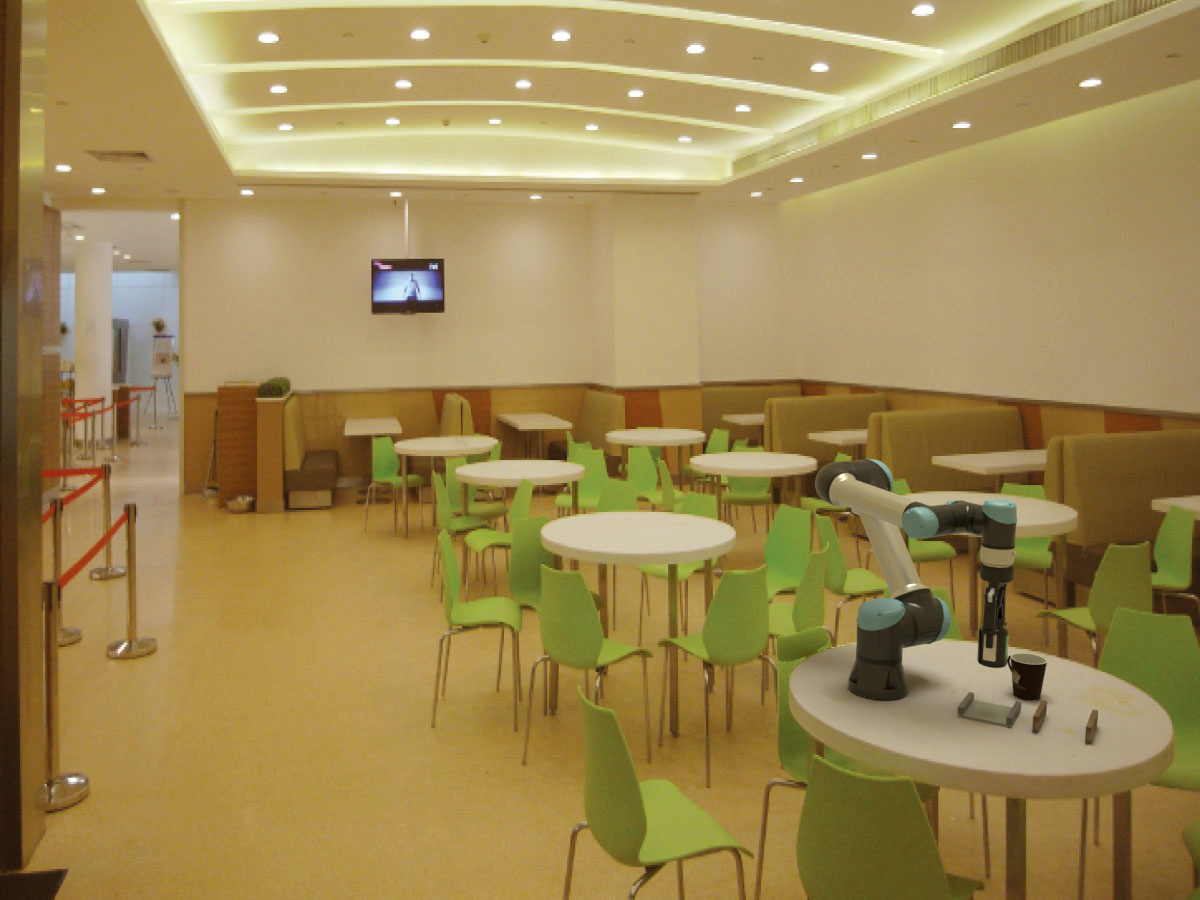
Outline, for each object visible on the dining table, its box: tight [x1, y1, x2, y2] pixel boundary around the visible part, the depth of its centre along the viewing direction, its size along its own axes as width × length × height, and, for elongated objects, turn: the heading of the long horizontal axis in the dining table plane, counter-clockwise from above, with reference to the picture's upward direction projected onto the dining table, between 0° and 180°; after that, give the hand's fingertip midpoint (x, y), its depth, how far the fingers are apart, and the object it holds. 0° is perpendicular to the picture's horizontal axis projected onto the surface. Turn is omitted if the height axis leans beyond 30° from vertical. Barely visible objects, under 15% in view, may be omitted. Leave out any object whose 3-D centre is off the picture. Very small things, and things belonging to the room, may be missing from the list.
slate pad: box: [957, 691, 1022, 729], centre depth 241 cm, size 12×12×2 cm
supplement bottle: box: [976, 614, 1010, 669], centre depth 239 cm, size 7×7×12 cm
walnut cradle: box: [1031, 699, 1099, 745], centre depth 232 cm, size 12×12×4 cm
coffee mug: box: [1007, 652, 1048, 702], centre depth 254 cm, size 12×9×10 cm
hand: (992, 655), depth 239 cm, fingers closed on supplement bottle, 7 cm apart
